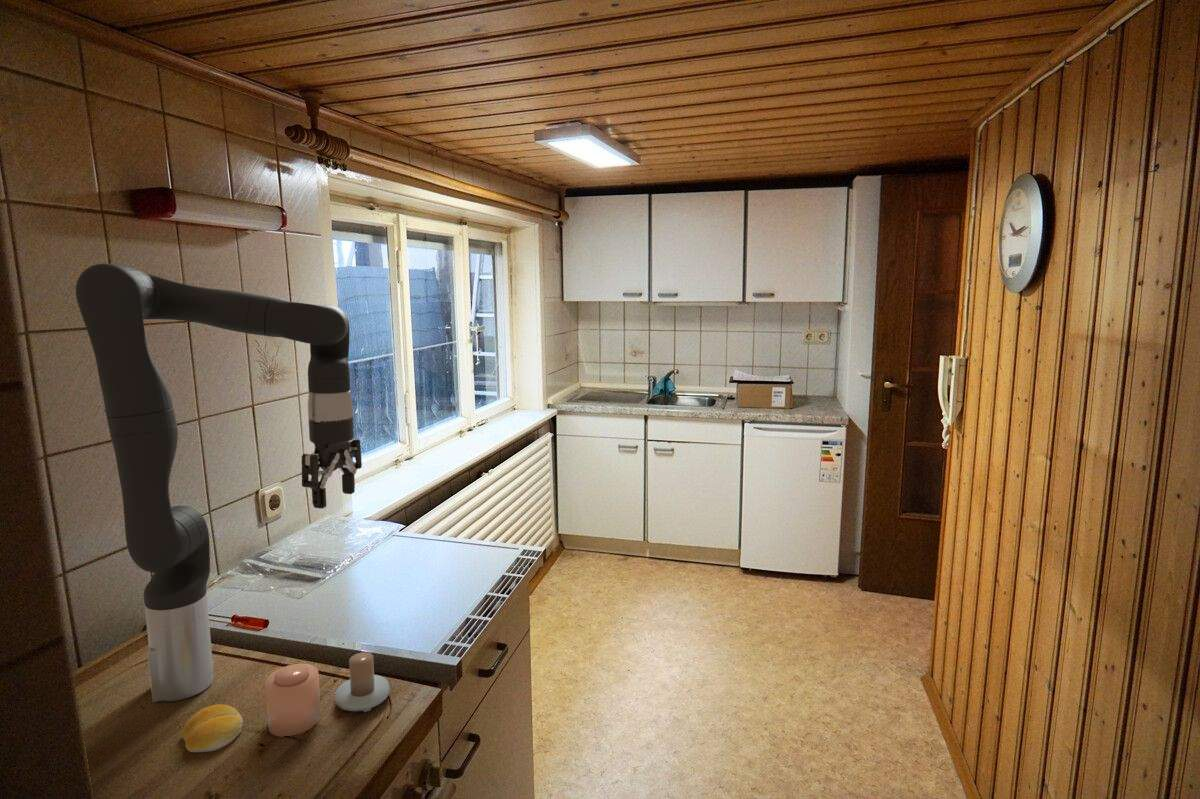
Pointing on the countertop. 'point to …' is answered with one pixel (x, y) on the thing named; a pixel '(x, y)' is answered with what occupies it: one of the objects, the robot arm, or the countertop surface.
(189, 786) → the countertop surface
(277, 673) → the canister
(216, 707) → the bread roll
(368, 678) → the lid
